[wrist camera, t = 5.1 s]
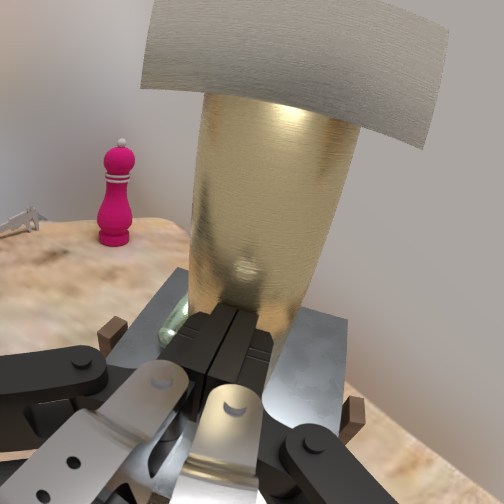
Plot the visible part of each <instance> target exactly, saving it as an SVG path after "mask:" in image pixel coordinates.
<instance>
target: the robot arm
mask: <svg viewBox="0 0 504 504" xmlns="http://www.w3.org/2000/svg"><path fill="white" fill-rule="evenodd" d="M258 318H259V315H258V314H255V313H251V312H248V311H244V310H241V309H239V311H238V308H234V307H231V306H228V305H225V304H221V303H217V305H216V306H215V308H214V309H213V311H212V312H211V314H207V313H204V312H201V311H199V312H197V313H195V314H193V315H191V316H189V317H188V318H187V320H186V321H185V322H184V324H183V325H182V327H181V328H180V329H179V330H178V331H177V334H175V335H174V337H173V338H172V339H171V341H170V342H169V343H168V345H167V346H166V347H165V349H164V350H163V351H162V352H161V354H160V355H159V356H158V358H157V359H156V360H152V361H148V362H145V363H144V364H142V365H141V366H140V367H139V368H124V367H118V366H114V365H109V364H106V359H105V357H104V355H103V354H102V353H101V352H100V351H99V350H97V349H96V348H93V347H90V346H85V345H78V346H72V347H65V348H59V349H52V350H45V351H38V352H30V353H22V354H13V355H4V356H0V452H13V451H24V450H32V449H38V450H37V451H36V452H35V453H34V454H33V455H32V456H31V457H30V458H29V459H19V460H11V461H1V462H0V504H147V502H148V500H149V498H150V496H151V494H152V491H153V488H154V485H155V483H156V481H157V479H158V478H159V476H160V475H161V473H162V471H163V470H164V468H165V467H166V465H167V463H168V462H169V460H170V459H171V457H172V455H173V454H174V452H175V451H176V449H177V447H178V446H179V444H180V442H181V441H182V439H183V433H184V428H185V426H186V424H187V422H188V420H190V421H193V422H195V423H197V421H198V418H199V416H200V420H199V425H198V428H197V431H196V434H195V437H194V440H193V443H192V446H191V449H190V452H189V455H188V457H187V459H186V460H185V461H184V463H183V466H182V468H181V471H180V474H179V476H178V479H177V482H176V485H175V488H174V491H173V494H172V497H171V500H170V502H169V504H256V503H257V496H258V490H259V492H260V494H261V495H262V497H263V499H264V500H265V502H266V503H267V504H399V503H398V502H397V501H396V500H395V499H394V498H393V497H392V496H391V495H390V494H389V493H388V492H387V491H386V490H385V489H384V488H383V487H382V486H381V485H380V484H379V483H378V482H377V481H376V479H375V478H374V477H373V476H372V475H371V474H370V473H369V472H368V471H367V470H366V469H365V468H364V466H363V465H362V464H361V463H360V462H359V461H358V460H357V459H356V458H355V457H354V455H353V454H352V453H351V452H350V451H349V450H348V449H347V448H346V446H345V445H344V444H343V443H342V442H341V441H340V440H339V438H338V437H337V436H336V435H335V434H334V433H333V432H332V431H331V430H329V429H328V428H326V427H324V426H322V425H318V424H313V423H305V424H300V425H298V426H296V427H294V428H293V429H292V428H290V427H288V426H286V425H285V424H283V423H281V422H279V421H277V420H275V419H274V418H273V417H271V416H270V415H269V414H268V413H267V411H266V410H265V408H264V406H263V403H262V393H263V389H264V385H265V380H266V376H267V372H268V367H269V362H270V358H271V353H272V349H273V345H274V342H273V339H272V336H271V334H270V332H267V331H263V330H260V329H256V326H257V322H258ZM64 399H66V400H64ZM58 400H61V401H58ZM52 401H55V402H52ZM46 402H49V403H46ZM39 403H42V404H39Z"/></svg>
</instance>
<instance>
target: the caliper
mask: <svg viewBox="0 0 504 504" xmlns="http://www.w3.org/2000/svg"><path fill="white" fill-rule="evenodd" d="M26 208H27V213H26V211H24V212H22V213H20V214H17V215H15V216H13V217H11V218H9V219H8V221H7V222H5V223H2V224H0V233H2V232H4V231H6V230H8V229H10V228H11V230H12V231H14V230H15V229H18V228H19V227H20V226H21V225H22V224H25V226H26V227H27V229H28V230H29V232H32V231H31V226H30V223H29V220H30V219H32V218H33V221H34V224H35V227H36V230H38V229H39V224H38V215H37V212H36V209H35V208H33V207H32V204H30V209H29V208H28V207H27V206H26Z"/></svg>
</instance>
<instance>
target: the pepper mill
mask: <svg viewBox="0 0 504 504" xmlns="http://www.w3.org/2000/svg"><path fill="white" fill-rule="evenodd" d="M125 145H126V141H125V140H124V139H119V140H118V142H117V146H118V147H115V148H112V149H111V150H109V151H108V152H107V153H106V155H105V157H104V166H105V168H106V170H107V172H106V173H105V175H106V176H105V180H106V186H107V187H106V194H105V198H104V200H103V203H102V205H101V207H100V209H99V212H98V216H97V223H98V226H99V227H100V228H101V230H100V232H99V241H100V242H101V243H102V244H104V245H107V246H121V245H124V244H126V243H127V242H128V241H129V231H128V230H127V229H128V228H129V227H130V226H131V224H132V213H131V209H130V206H129V203H128V200H127V183H128V182H129V181H130V175H131V174H130V173H129V171H130V170H131V169H132V168H133V166H134V163H135V157H134V154H133V152H132V151H131V150H130V149H128V148H125Z"/></svg>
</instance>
